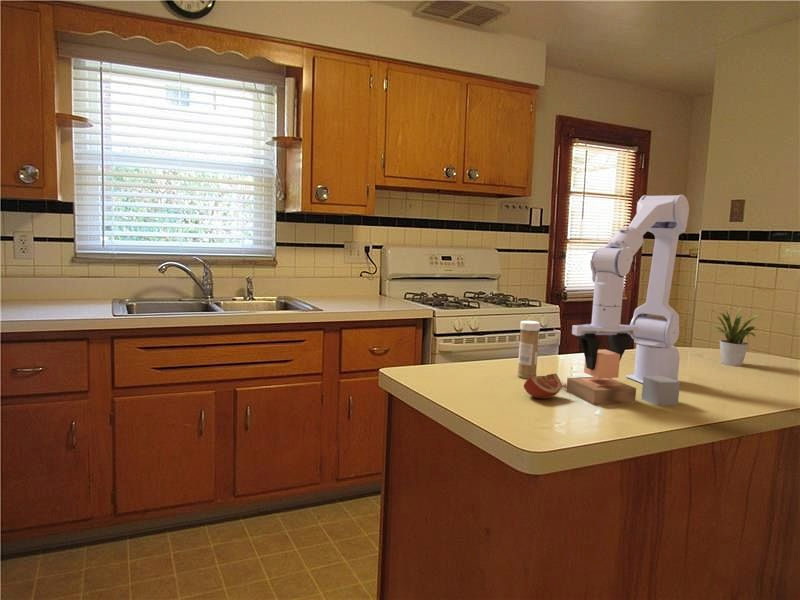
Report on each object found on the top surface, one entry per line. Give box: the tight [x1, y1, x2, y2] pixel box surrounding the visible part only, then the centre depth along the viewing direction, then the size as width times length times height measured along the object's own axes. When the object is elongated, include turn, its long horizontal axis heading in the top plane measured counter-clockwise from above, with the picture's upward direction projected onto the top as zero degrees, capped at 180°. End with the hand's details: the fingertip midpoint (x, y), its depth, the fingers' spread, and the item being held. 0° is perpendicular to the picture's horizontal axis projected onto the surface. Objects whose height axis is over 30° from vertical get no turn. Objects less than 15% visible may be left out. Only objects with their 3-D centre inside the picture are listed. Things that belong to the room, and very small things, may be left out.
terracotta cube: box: [583, 349, 621, 379], centre depth 125 cm, size 5×5×5 cm
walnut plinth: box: [565, 376, 637, 406], centre depth 125 cm, size 10×10×4 cm
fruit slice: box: [523, 373, 563, 399], centre depth 123 cm, size 8×7×5 cm
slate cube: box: [641, 376, 681, 407], centre depth 123 cm, size 5×5×5 cm
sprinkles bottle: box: [517, 320, 541, 380], centre depth 140 cm, size 5×5×14 cm
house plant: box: [706, 306, 761, 367], centre depth 165 cm, size 14×14×16 cm
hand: (602, 368), depth 125 cm, fingers closed on terracotta cube, 5 cm apart
